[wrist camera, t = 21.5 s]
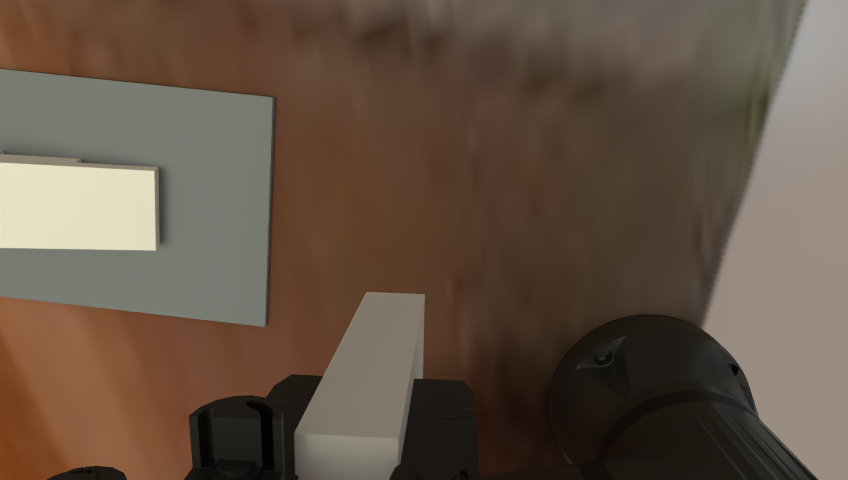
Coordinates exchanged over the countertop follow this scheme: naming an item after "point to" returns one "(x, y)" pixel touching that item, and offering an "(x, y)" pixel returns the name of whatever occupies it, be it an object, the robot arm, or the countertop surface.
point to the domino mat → (178, 194)
